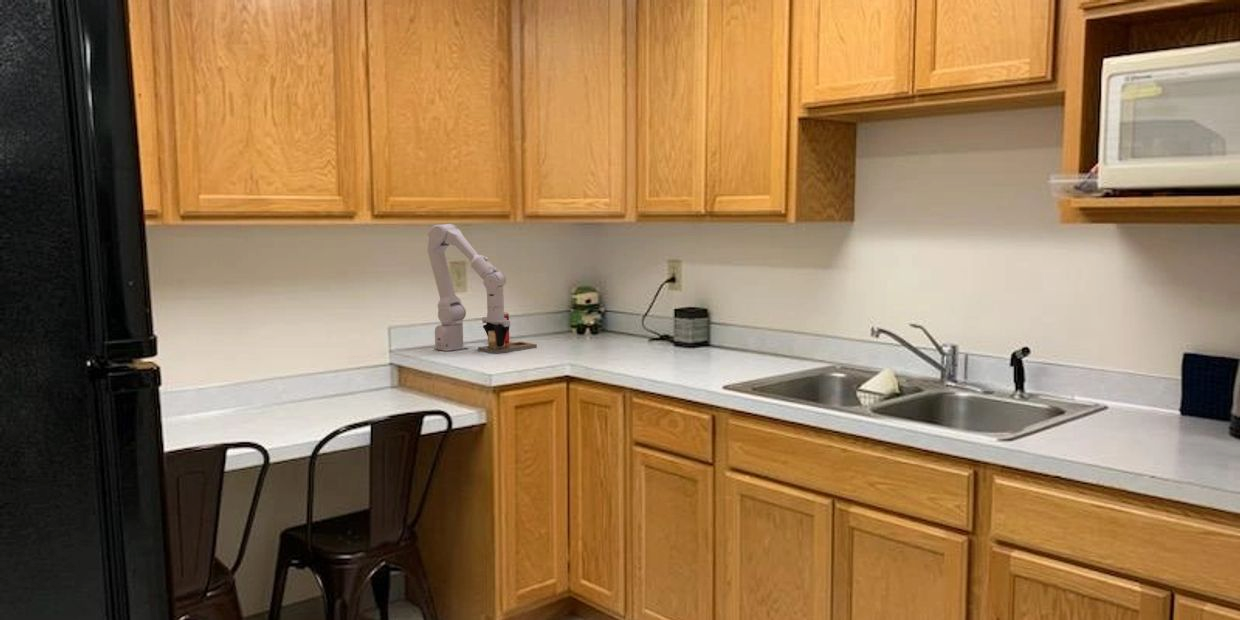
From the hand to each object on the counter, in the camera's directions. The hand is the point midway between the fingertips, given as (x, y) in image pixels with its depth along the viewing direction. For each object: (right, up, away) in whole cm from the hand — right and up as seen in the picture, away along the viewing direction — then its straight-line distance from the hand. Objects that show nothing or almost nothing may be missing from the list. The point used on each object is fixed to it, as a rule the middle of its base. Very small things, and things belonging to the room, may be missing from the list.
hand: (496, 345), depth 316 cm
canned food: (-2, 0, +19) cm, 19 cm away
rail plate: (+3, -2, +3) cm, 5 cm away
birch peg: (0, -2, 0) cm, 2 cm away
